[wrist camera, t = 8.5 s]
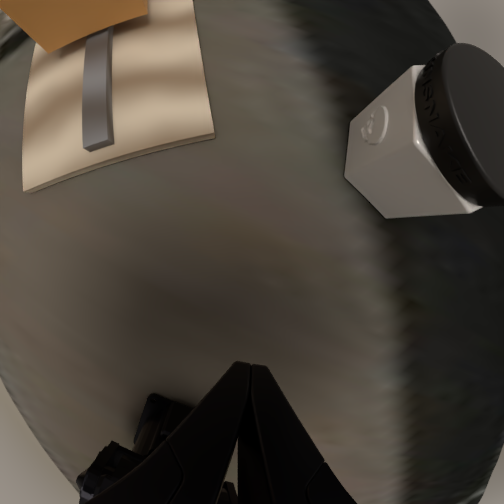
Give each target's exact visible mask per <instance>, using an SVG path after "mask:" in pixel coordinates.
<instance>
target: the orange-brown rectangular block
mask: <svg viewBox="0 0 504 504" xmlns="http://www.w3.org/2000/svg"><path fill="white" fill-rule="evenodd" d="M0 8H1V10H3V11H4V12H5V13H6V14H7V15H8V16H9V17H10V18H11V19H12V20H13V21H14V22H15V23H16V24H17V25H19V26H20V27H21V28H22V29H23V30H24V31H25V32H26V33H27V34H28V35H29V36H30V37H31V38H32V39H33V40H34V41H36V42H37V43H38V44H39V45H40V46H41V47H42V48H43V49H44V50H45V51H46V52H47V53H48V54H49V53H51V52H53V51H55V50H57V49H59V48H61V47H63V46H65V45H67V44H69V43H71V42H73V41H76V40H78V39H80V38H82V37H85V36H87V35H89V34H92V33H94V32H96V31H99V30H102V29H104V28H107V27H109V26H112V25H115V24H118V23H121V22H124V21H127V20H130V19H133V18H136V17H139V16H143V15H146V14H148V0H0Z"/></svg>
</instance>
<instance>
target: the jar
mask: <svg viewBox="0 0 504 504" xmlns="http://www.w3.org/2000/svg"><path fill="white" fill-rule="evenodd" d="M344 177H345V178H346V179H347V180H348V181H349V182H350V183H351V184H352V185H353V186H354V187H355V188H356V189H357V190H358V191H359V192H360V193H361V194H362V195H363V196H364V197H365V198H366V199H367V200H368V201H369V202H370V203H371V204H372V205H373V206H374V207H375V208H376V209H377V210H378V211H379V212H380V213H381V214H382V215H383V216H384V217H385V218H387V219H390V218H404V217H418V216H434V215H450V214H468V213H472V212H474V211H476V210H478V209H480V208H482V207H493V206H504V67H503V66H502V65H501V64H500V63H499V62H498V61H497V60H495V59H494V58H493V57H492V56H491V55H489V54H488V53H486V52H485V51H483V50H482V49H480V48H478V47H476V46H473V45H470V44H466V43H457V44H453V45H451V46H449V47H448V48H447V49H446V50H444V51H443V50H442V51H440V52H439V53H438V54H437V55H435V56H434V57H433V58H432V59H431V60H430V61H429V62H428V63H427V65H414V66H411V67H410V68H409V69H408V70H407V71H406V72H405V73H404V74H402V75H401V76H400V77H399V78H398V79H397V80H396V81H395V82H393V83H392V84H391V85H390V86H389V87H388V88H387V89H386V90H385V91H383V92H382V93H381V94H380V95H379V96H378V97H377V98H376V99H375V100H373V101H372V102H371V103H370V104H369V105H368V106H367V107H366V108H365V109H364V110H363V111H361V112H360V113H359V114H358V115H357V116H356V117H355V118H354V119H353V120H352V121H351V122H350V128H349V138H348V148H347V156H346V164H345V172H344Z"/></svg>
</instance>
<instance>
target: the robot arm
mask: <svg viewBox="0 0 504 504" xmlns="http://www.w3.org/2000/svg"><path fill="white" fill-rule="evenodd" d="M152 399H155V400H156V401H153V400H152ZM237 438H238V497H237V494H236V490H235V487H234V484H233V483H232V482H227V481H225V482H224V480H225V477H226V474H227V471H228V468H229V464H230V461H231V458H232V455H233V452H234V448H235V445H236V442H237ZM134 444H135V445H134V448H133V450H132V451H131V450H129V449H126V448H124V447H122V446H120V445H119V443H116V442H114V441H111V443H110V444H109V445H108V447H107V446H105V447H104V449H103V450H102V451H101V452H99V454H98V455H97V457H96V459H95V460H94V462H93V463H92V464H91V466H90V467H89V468H88V469H86V470H85V471H84V472H82V473H81V474H80V475H79V476H78V477H77V480H76V483H77V485H78V487H79V489H80V501H79V504H357V503H356V502H355V501H354V499H353V498H352V497H351V496H350V495H349V493H348V492H347V491H346V490H345V489H344V487H343V486H342V484H341V483H340V482H339V480H338V479H337V478H336V476H335V475H334V473H333V472H332V470H331V469H330V467H329V466H328V464H327V463H326V462H324V461H325V460H324V458H323V457H322V455H321V454H320V452H319V450H318V449H317V447H316V446H315V444H314V443H313V441H312V439H311V438H310V436H309V435H308V433H307V431H306V430H305V428H304V427H303V425H302V423H301V422H300V420H299V419H298V417H297V415H296V414H295V412H294V410H293V409H292V407H291V406H290V404H289V402H288V401H287V399H286V397H285V396H284V394H283V392H282V391H281V389H280V387H279V386H278V384H277V382H276V380H275V379H274V377H273V375H272V374H271V372H270V370H269V369H268V367H267V366H264V365H257V364H252V365H250V364H249V363H245V362H240V361H236V362H234V363H233V364H232V366H231V367H230V368H229V369H228V370H227V371H226V373H225V374H224V375H223V376H222V377H221V378H220V380H219V381H218V382H217V383H216V384H215V385H214V387H213V388H212V389H211V390H210V391H209V392H208V393H207V394H206V396H205V397H204V398H203V399H202V400H201V401H200V402H199V403H198V405H197V406H196V407H195V408H194V409H193V408H190V407H188V406H185V405H182V404H180V403H177V402H174V401H171V400H169V399H166V398H164V397H161V396H159V395H157V394H150V395H149V396H148V398H147V401H146V404H145V407H144V410H143V413H142V416H141V419H140V422H139V426H138V429H137V432H136V435H135V438H134Z"/></svg>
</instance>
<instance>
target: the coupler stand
mask: <svg viewBox="0 0 504 504" xmlns="http://www.w3.org/2000/svg"><path fill="white" fill-rule="evenodd" d="M214 138H215V133H214V127H213V122H212V116H211V110H210V104H209V99H208V93H207V87H206V81H205V75H204V69H203V63H202V57H201V51H200V45H199V38H198V32H197V26H196V20H195V13H194V7H193V0H148V14H146V15H143V16H139V17H136V18H133V19H130V20H127V21H124V22H121V23H118V24H115V25H112V26H109V27H107V28H104V29H102V30H99V31H96V32H94V33H92V34H89V35H87V36H85V37H82V38H80V39H78V40H76V41H73V42H71V43H69V44H67V45H65V46H63V47H61V48H59V49H57V50H55V51H53V52H51V53H49V54H48V53H47V52H46V51H45V50H44V49H43V48H42V47H41V46H40V45H39V44H38V43H37V42H36V45H35V50H34V54H33V59H32V64H31V69H30V75H29V81H28V88H27V95H26V104H25V114H24V127H23V152H22V170H23V192H27V193H33V192H36V191H38V190H41V189H43V188H46V187H48V186H51V185H53V184H56V183H58V182H61V181H64V180H66V179H69V178H72V177H74V176H77V175H80V174H83V173H86V172H89V171H92V170H95V169H98V168H101V167H104V166H107V165H110V164H114V163H117V162H120V161H123V160H127V159H130V158H134V157H137V156H141V155H145V154H148V153H152V152H156V151H160V150H164V149H168V148H172V147H176V146H181V145H185V144H190V143H194V142H199V141H204V140H209V139H214Z"/></svg>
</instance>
